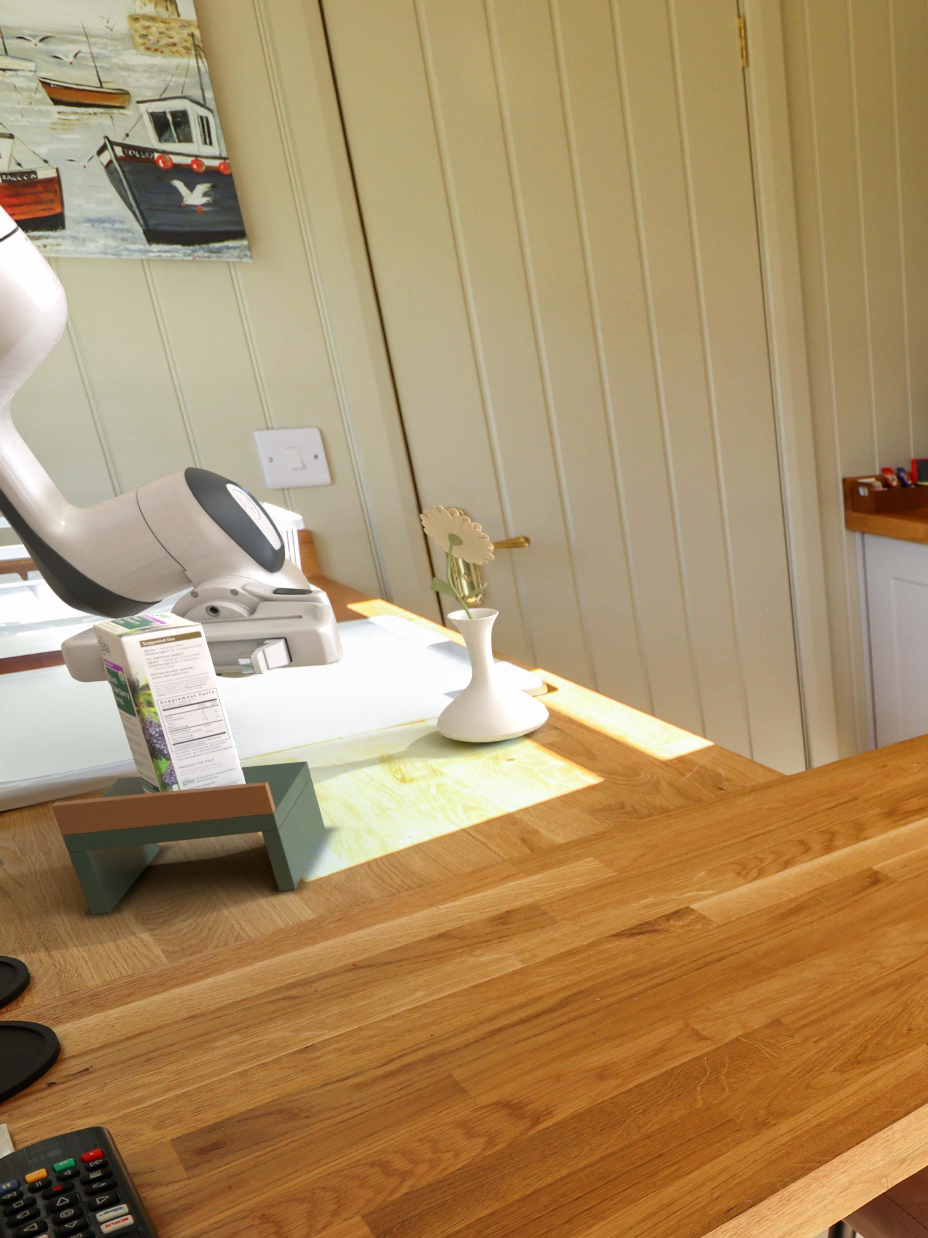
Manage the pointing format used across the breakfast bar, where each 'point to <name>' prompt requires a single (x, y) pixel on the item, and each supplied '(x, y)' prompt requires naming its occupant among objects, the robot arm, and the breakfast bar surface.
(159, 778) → the syrup box
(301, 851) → the shelf
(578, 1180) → the breakfast bar surface
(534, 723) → the flower in vase
